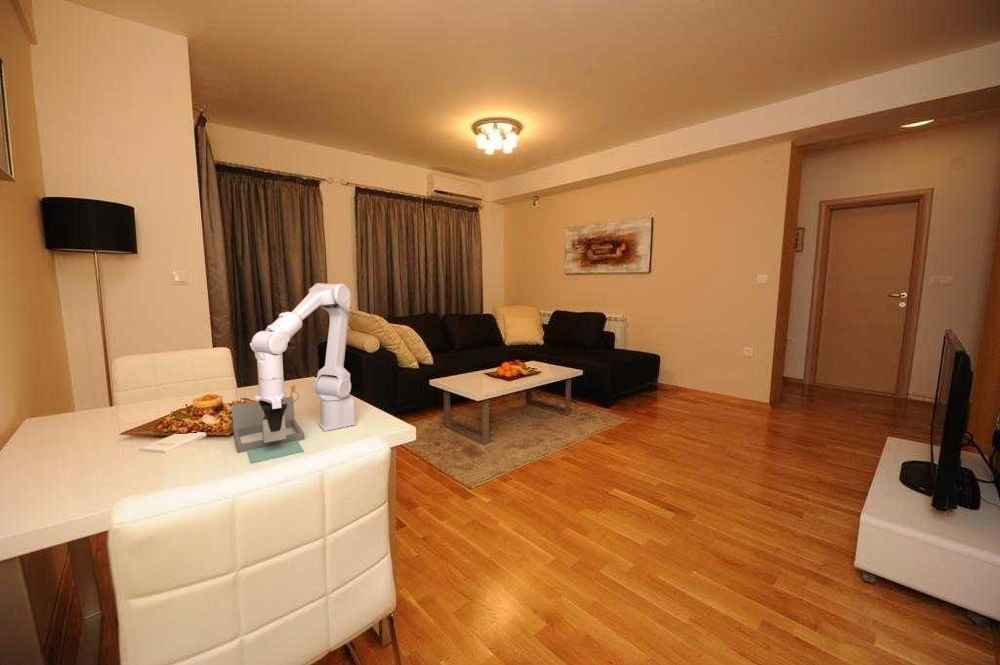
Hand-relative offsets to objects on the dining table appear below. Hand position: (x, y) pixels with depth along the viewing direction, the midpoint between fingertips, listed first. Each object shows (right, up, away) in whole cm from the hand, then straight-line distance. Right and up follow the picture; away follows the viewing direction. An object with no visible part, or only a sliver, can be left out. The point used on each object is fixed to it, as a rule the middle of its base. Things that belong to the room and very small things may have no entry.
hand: (274, 428), depth 108 cm
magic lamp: (-16, -3, +27) cm, 32 cm away
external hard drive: (-31, -6, +6) cm, 32 cm away
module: (0, -3, 0) cm, 3 cm away
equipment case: (-7, -5, +10) cm, 14 cm away
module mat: (0, -7, +1) cm, 6 cm away
